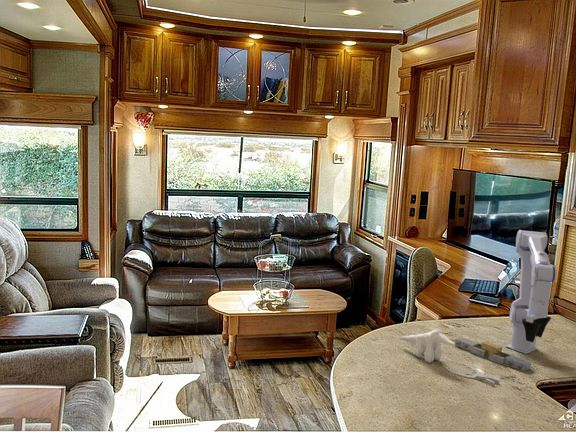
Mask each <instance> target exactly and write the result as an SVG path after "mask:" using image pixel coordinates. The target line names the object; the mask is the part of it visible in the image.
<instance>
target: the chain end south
mask: <svg viewBox="0 0 576 432" xmlns="http://www.w3.org/2000/svg"><path fill="white" fill-rule="evenodd" d="M454 343H455V345H454V346H455V347H457V348H461V349H463V350H466V351H468V352H470V353H471V354H473V355H475V354H476V355H475V356H478V357H481V358H486V357H485V354H486V351H484V350H482V349H481V346H482V342H477V341H474V340H471V339H468V338H465V337H463V336H461V337H458V338H455V340H454Z"/></svg>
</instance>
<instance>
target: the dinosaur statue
mask: <svg viewBox="0 0 576 432" xmlns="http://www.w3.org/2000/svg"><path fill="white" fill-rule="evenodd" d="M419 332H420V331H417V332H414V334H413V333H411V334H408V335H406V334H404V336H398V337H397V338H398V339H401V340H402V341H405V342H407V343H410V344H412V345H414V346H415V347H416V351H415V355H414V356H415V357H417V358H421V357H422V356H424V362H426V363H432V362H433V361H440V360H441V358H442V349H441V344H446V345H449V346H455V342H453V341H451V339H450V338H449V337H448V336H446V334H444V331H443V330H442V329H439V328H438V329H434V330H431V331H428V332H425V333H419Z"/></svg>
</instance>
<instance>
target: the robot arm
mask: <svg viewBox="0 0 576 432" xmlns="http://www.w3.org/2000/svg"><path fill="white" fill-rule="evenodd" d="M547 244H548V234H547V233H546V231H545V232H544V231H543V232H541V231H540V232H539V231H530V230H522V229H518V231H517V233H516V237H515V253H517V254H518V255H519V256H520V278H519V298H517V299H515V300H514V301H512V302H511V304H510V309H509V321H510V323H511V324H512V330H511V331H512V332H511V337H510V343H508V344H505V348H507V349H511V350H514V351H516V352H520V353H522V354H525V355H526V354H529V353H532V352H534V351H537V350H538V349H539V348H538V347H537V346H536V345H537V344H536V343H537V337H538V338H542V336H543V334H544V332H545V331H546V330H545V329H546V328H547V325H548V324H549V322H550V321H551V319H552V317H550V316H548V313H549V303H550V297H551V291H552V284H553V283H554V282H555V280H556V275H557V274H556V273H557V272H556V269H557V268H556V266H555V265H554V264H551V261H550V258H549V255H548V253H546V252H545V249H546V248H547Z"/></svg>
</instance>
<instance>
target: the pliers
mask: <svg viewBox="0 0 576 432" xmlns="http://www.w3.org/2000/svg"><path fill="white" fill-rule="evenodd" d="M462 364H463V365H462ZM461 365H462V366H464V365H465V366H464V367H466V366H467V367H466V368H468V367H469V368H468V369H470V368H471V369H472V370H471V369H470V370H471V373H465V372H463V373H462V372H457V371H455V370H451V369H449V368H445V371H447V370H448V371H447V372H449V371H450V372H449V373H451V372H452V373H451V374H453V373H455V374H454V375H456V374H458V375H457V376H459V375H461V376H460V377H462V376H464V377H463V378H466V377H467V378H466V379H473V380H477V381H481V382H483V383H485V384H486V385H489V386H491V387H495V386H496V385H500V379H498V378H496V377H494V376H490V375H488V374H482V372H481V371H479V370H478V369H477V368H475V367H473V366H471V365H469V364H467V363H465V362H462V363H461ZM474 371H475V372H476V373H477V374H476V373H475V372H474ZM465 374H468V375H465ZM474 374H475V375H474ZM471 375H472V376H471Z"/></svg>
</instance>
